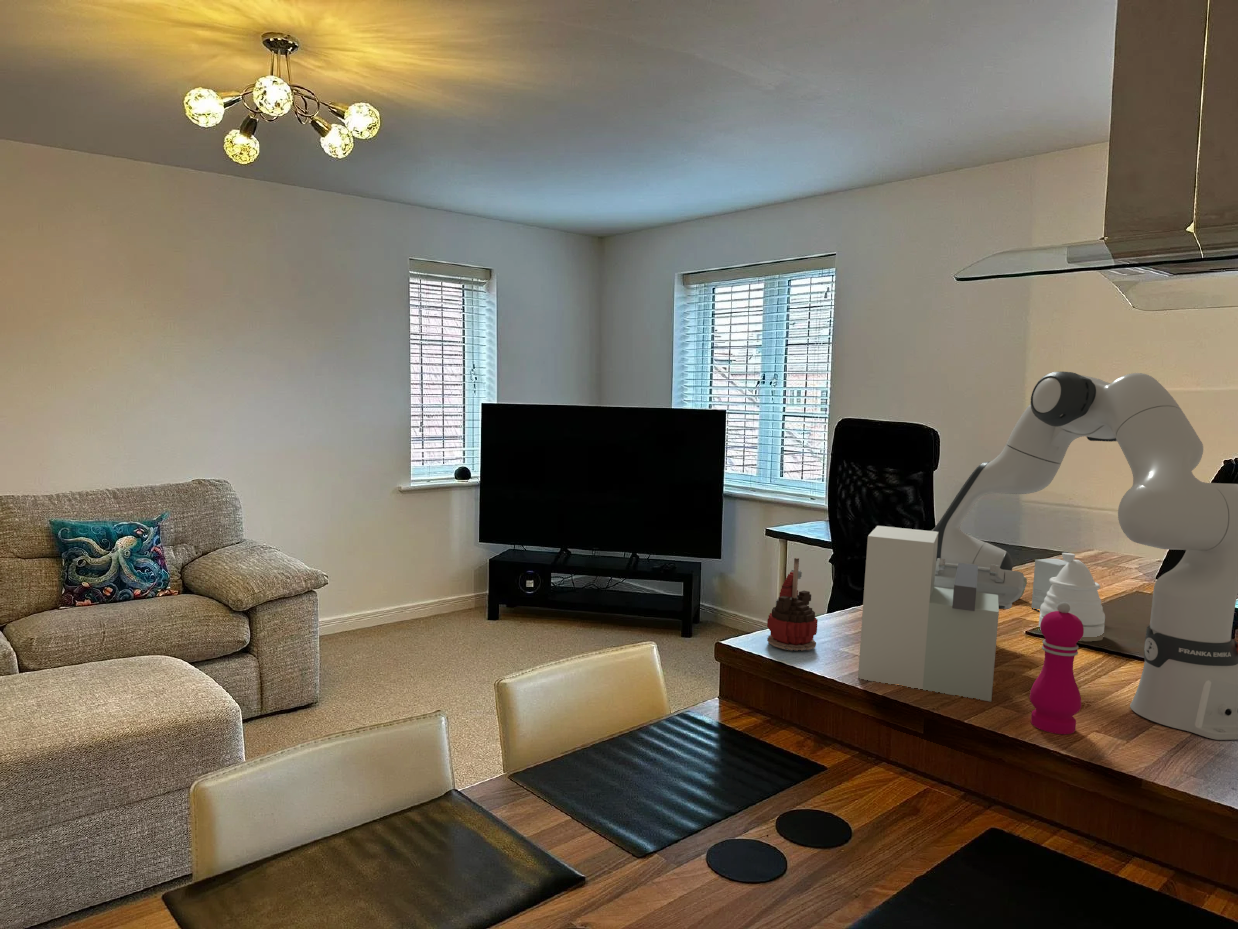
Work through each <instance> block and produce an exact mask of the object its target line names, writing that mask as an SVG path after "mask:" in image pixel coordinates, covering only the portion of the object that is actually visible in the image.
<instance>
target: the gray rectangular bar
mask: <svg viewBox="0 0 1238 929" xmlns="http://www.w3.org/2000/svg"><path fill="white" fill-rule="evenodd" d="M977 574H978V565H973V564H964V563H958V568H957V573H956V578H955V583H954V592H953V605H952V608H954V609H961V610H969V611H975V600H976V588H977Z"/></svg>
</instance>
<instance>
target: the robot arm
mask: <svg viewBox="0 0 1238 929" xmlns="http://www.w3.org/2000/svg"><path fill="white" fill-rule="evenodd" d="M1082 437H1083V438H1084V437H1086V438H1087V440H1088V441H1091V442H1108V443H1109V442H1110V443H1111V442H1117V443H1118V446H1119V447H1120V449H1121V451H1122V453H1123V455H1124V457H1125V459H1126V461H1127V464H1128V465H1129V468H1130V471H1131V474H1132V478H1133V479H1132V486H1131V487H1130V488H1129V489H1128V490H1127V491H1126V492H1125V493H1124V495H1123V496H1122V497H1121V500H1120V502H1119V505H1118V510H1117V520H1118V523H1119V524H1118V525H1119V526H1120V529H1121V530H1122V532H1123V534H1124V535H1125V536H1126V538H1128V539H1129V540H1130V541H1131V542H1133V543H1135V544H1139V545H1143V546H1148V547H1150V548H1151V547H1152V548H1157V549H1160V550H1176V551H1177V550H1178V551H1179V550H1180V551H1182V550H1183V551H1185V553H1184V554H1183V556H1182V558H1181V559H1180V560H1179V562H1178V563H1177V564H1176V565H1175V566H1174V567H1173V568H1172V569H1170V570H1169V571H1167V572H1165V573H1163V574H1161V576H1159V577H1158V578H1157V580H1156V581H1155V584H1154V586H1153V590H1152V592H1153V593H1152V602H1151V613H1150V622H1149V625H1148V626H1146V631H1145V637H1144V638H1145V639H1144V646H1143V647H1144V649H1143V659H1144V662H1143V669H1142V671H1141V672H1142V673H1141V677H1140V679H1139V683H1138V687H1137V689H1136V691H1135V693H1134V696H1133V698H1132V700H1131V702H1130V705H1129V707H1130V709H1131V710H1132V711H1133V712H1134V713H1136V714H1137V715H1139V716H1141V717H1142V718H1145V719H1147V720H1150V721H1151V722H1154V723H1157V724H1160V725H1163V726H1166V727H1170V728H1173V729H1178V730H1182V731H1187V732H1190V733H1193V734H1196V735H1199V736H1202V737H1205V738H1209V739H1212V740H1216V741H1217V740H1218V741H1220V740H1221V741H1222V740H1225V741H1226V740H1227V741H1228V740H1238V642H1237V641H1235V640H1234V639H1232V630H1233V622H1234V615H1235V609H1236V603H1237V598H1238V483H1225V482H1224V483H1221V482H1218V483H1217V482H1205V481H1204V482H1203V481H1201V480H1199V479H1198V478H1197V477H1196V476H1195V475H1194V474H1193V470H1195V468H1196V467H1197V466H1199V464H1200V462H1201V461H1202V457H1203V455H1204V444H1203V442H1202V440H1201V438H1200V437H1199V435H1198V434H1197V432H1196V431H1195V429H1194V426H1192V424H1191V423H1190V421H1189V419H1188V418H1187V416H1186V414H1185V413H1184V411H1183V410H1182V408H1181V407H1180V405H1179V404H1178V402H1177V401H1176V400H1175V398H1174V397H1173V396H1172V395H1171V394H1170V392H1169V391H1168V390H1167V389H1166V388H1165V387H1164V385H1162V384H1161V383H1160V382H1159V380H1157V379H1155V377H1153V376H1152V375H1149V374H1147V373H1142V372H1131V373H1127V374H1124V375H1122V376H1120V377H1118V378H1116V379H1114V380H1113V381H1112V382H1108V381H1104V380H1103V379H1100V378H1096V377H1093V376H1086V375H1082V374H1078V373H1076V372H1072V371H1053V372H1050V373H1047V374H1045V375H1044V376H1042V377H1041V378H1040V379H1039V380H1038V381H1037V383H1036V384H1035V385H1034V387H1033V390H1032V392H1031V395H1030V404H1028V406H1027V407H1026V408H1025V410H1024V411H1023V412H1022V413H1021V415H1020V417H1019V418H1018V419H1017V421H1016V423H1015V425H1014V427H1013V429H1012V430H1011V432H1010V435H1009V436H1008V438H1007V441H1006V443H1005V445H1004V447H1003V449H1002V450H1001V452H1000V453H999V454H998V455H997V456H996V457H995V458H993V459H992V460H990V461H983V462H982V463H979V465H977V466H976V468H975V469H974V470H972V471H973V472H971V474H970V475H969V477H968V478H967V479H966V481H965V483H964V484H963V485H962V486H961V488H960V489H959V491H958V493H957V494H956V496H955V497H954V499H953V500H952V502H951V503H950V505H949V506H948V508H947V509H946V510H945V512H944V513H943V515H942V517H941V518H940V519H939V521H938V523H937V524H936V525H935V527H934V528H933V529H931V531H936V532H938V545H937V557H936V570H935V583H934V587H939V588H947V589H954V583H955V578H956V573H957V568H958V563H964V564H973V565H978V574H977V588H976V592H979V593H987V594H995V595H998V604H999V610H1010V609H1011V608H1012V606H1013V603H1014V602H1016V601H1018V600H1019V599H1020V598H1019V597H1020V596H1021V594H1022V591H1023V583H1024V577H1025V576H1024V575H1025V574H1024V573H1023V572H1021V571H1019V570H1013V567H1014V564H1013V560H1012V557H1011V554H1010V553H1009V551H1006V550H1004V549H1002V548H1000V547H999V546H995V545H993V544H992V543H989V542H986V541H983V540H981V539H978V538H976V537H974V536H972V535H969V534H967V533H965V532H963V531H962V530H961V526H962V524H963V522H964V521H965V520H966V519H967V517H968V515H969V513H970V512H971V511H972V509H973V508H974V506H975V505H976V504H977V502H978V501H979V499H980V498H982V497H984V496H986V495H990V494H993V495H994V494H1001V495H1002V494H1006V495H1028V494H1034V493H1037V492H1039V491H1042V490H1044V489H1045V488H1047V487H1048V486H1049V485H1050V484H1051V483H1052V481H1053V480H1054V478H1055V477H1056V476H1057V473H1058V471H1059V470H1060V467H1061V465H1062V463H1063V461H1064V458H1065V456H1066V453H1067V451H1068V449H1069V447H1070V445H1071V444H1072V443H1073V442H1074V441H1075V440H1076V439H1080V438H1082ZM1018 598H1019V599H1018Z"/></svg>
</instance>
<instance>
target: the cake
mask: <svg viewBox="0 0 1238 929" xmlns="http://www.w3.org/2000/svg"><path fill="white" fill-rule="evenodd" d="M799 565H800V558H799V557H795V558H794V562H793V569H791V571H790V572H789V573H788V574H787V576H786V578H785V579H784V581H783V583H782V585H781V588H780V592H779V596H778V598H777V599H776V600H775V607H772V609H771V612H770V613H769V615H768V618H767V621H766V622H767V623H766V625H767V629H768V630H769V632H770V633H769V634H770V635H768V636H767V637H766V638H767V640H766V641H767V642H768V644H769V645H772V646H773V647H776V648H778V649H782V650H786V649H787V650H786V651H789V650H790V651H793V650H795V651H798V650H801V651H805V650H806V651H810V650H813V649H815V648H816V645H817V642H816V641H815V639H814V638H815V635H817V633H818V622H819V621H818V620H819V619H818V618H816V611H814V610H813V607H810V602H811V601H812V594H811V592H810V591H808V590H801V591H799V590H798V584H799V583H798V582H799V580H800V579H801V578H802V576H803V575H802V574H803V572H802V570H799V567H800V566H799Z"/></svg>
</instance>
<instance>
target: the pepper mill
mask: <svg viewBox="0 0 1238 929" xmlns="http://www.w3.org/2000/svg"><path fill="white" fill-rule="evenodd" d="M1057 609H1058V611H1054V612H1050V613H1048V614H1046V615H1045V616H1044V617H1043V619H1042V621H1041V625H1040V630H1041V634H1042V635H1043V636H1044V639H1043V640H1042V641H1041V642H1042V645H1041V648H1042V650H1043V651H1044V659H1043V660H1044V661H1043V665H1042V668H1041V670H1040V672H1039V675H1038V676H1037V677H1036V679H1035V680H1034V682H1033V684H1032V686H1031V688H1030V693H1029V700H1030V703H1031V705H1032V706H1033V708H1034V709H1033V710H1031V716H1030V723H1031V725H1032V726H1033V727H1034V728H1036V729H1038V730H1040V731H1044V732H1047V733H1050V734H1056V735H1072V734H1073V733H1075V731H1076V726H1077V725H1076V724H1077V720H1076V718H1075V717H1074V716H1075V715H1077V713H1079V712H1080V710H1081V709H1082V697H1081V693H1080V690H1079V687H1078V685H1077V682H1076V679H1075V676H1074V661H1075V657H1076V656H1077V655H1078V654H1079V652H1078V650H1079V645H1078V644H1077V643H1078V641H1079V640H1081V638H1082V636H1083V633H1084V628H1083V624H1082V622H1081V620H1080V619H1079V618H1078V617H1077V616H1075V615H1073V614H1071V613H1068V612H1069V611H1070V606H1069V604H1068V603H1066V602H1061V603H1059V604H1058V606H1057Z"/></svg>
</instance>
